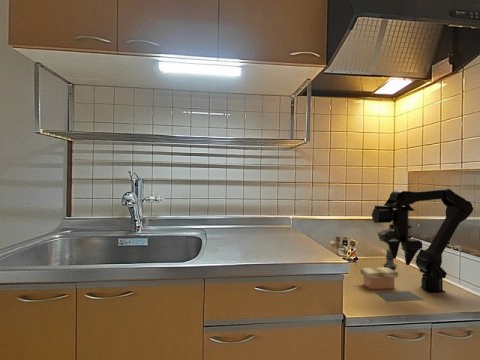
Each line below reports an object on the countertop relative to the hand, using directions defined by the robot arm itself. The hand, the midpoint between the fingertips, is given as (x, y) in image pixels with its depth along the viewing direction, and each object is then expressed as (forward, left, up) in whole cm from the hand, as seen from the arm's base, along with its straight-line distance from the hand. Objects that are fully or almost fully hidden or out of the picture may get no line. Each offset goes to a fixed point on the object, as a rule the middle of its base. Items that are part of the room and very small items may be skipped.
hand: (400, 261), depth 124 cm
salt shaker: (-9, -24, -12) cm, 28 cm away
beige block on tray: (+6, -6, -7) cm, 11 cm away
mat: (+4, +5, -12) cm, 14 cm away
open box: (+6, -6, -12) cm, 15 cm away
